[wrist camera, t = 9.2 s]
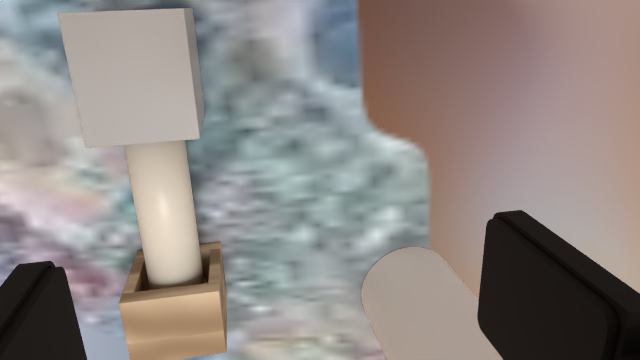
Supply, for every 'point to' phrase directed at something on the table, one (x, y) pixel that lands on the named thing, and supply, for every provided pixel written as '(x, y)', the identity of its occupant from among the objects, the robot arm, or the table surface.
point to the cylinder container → (423, 309)
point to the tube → (165, 213)
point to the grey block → (134, 75)
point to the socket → (176, 312)
